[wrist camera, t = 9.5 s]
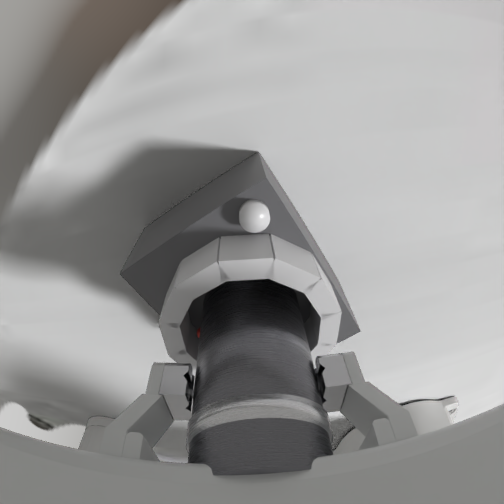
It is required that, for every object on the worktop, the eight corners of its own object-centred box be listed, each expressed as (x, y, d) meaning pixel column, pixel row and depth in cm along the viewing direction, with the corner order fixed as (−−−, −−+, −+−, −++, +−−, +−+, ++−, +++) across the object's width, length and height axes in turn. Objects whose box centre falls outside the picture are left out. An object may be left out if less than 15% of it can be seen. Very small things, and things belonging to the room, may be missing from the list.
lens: (302, 264, 14) (361, 468, 6) (297, 340, 17) (329, 510, 9) (192, 270, 14) (159, 480, 6) (205, 345, 17) (195, 517, 8)
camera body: (338, 280, 21) (371, 357, 15) (231, 335, 23) (230, 416, 17) (258, 151, 17) (271, 194, 11) (137, 233, 19) (97, 305, 13)
